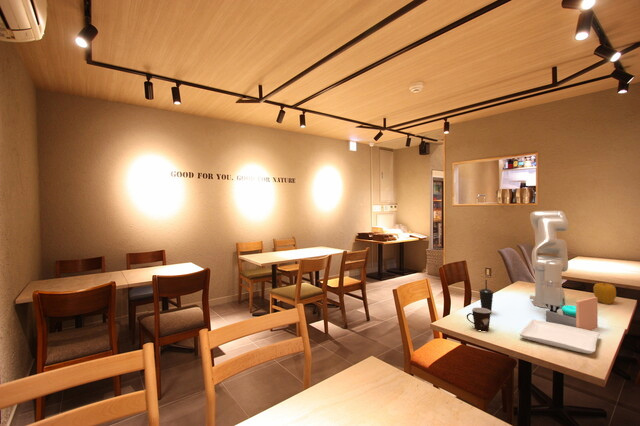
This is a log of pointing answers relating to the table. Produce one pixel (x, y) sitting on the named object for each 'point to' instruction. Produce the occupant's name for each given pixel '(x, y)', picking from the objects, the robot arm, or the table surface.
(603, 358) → the table surface
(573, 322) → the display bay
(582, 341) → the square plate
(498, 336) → the table surface
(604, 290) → the apple
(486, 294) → the drinking cup
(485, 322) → the coffee mug
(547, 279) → the robot arm
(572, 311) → the donuts
